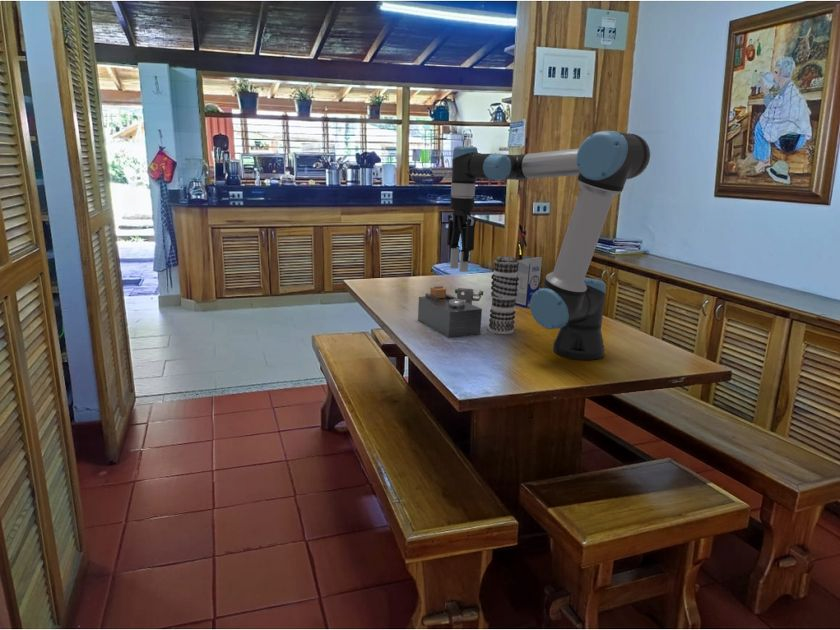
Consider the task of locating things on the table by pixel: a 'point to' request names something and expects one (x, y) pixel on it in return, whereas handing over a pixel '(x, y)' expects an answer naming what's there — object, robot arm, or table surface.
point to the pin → (456, 303)
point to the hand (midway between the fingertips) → (458, 269)
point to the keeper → (438, 292)
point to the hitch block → (449, 316)
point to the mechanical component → (468, 295)
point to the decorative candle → (503, 295)
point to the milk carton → (527, 280)
